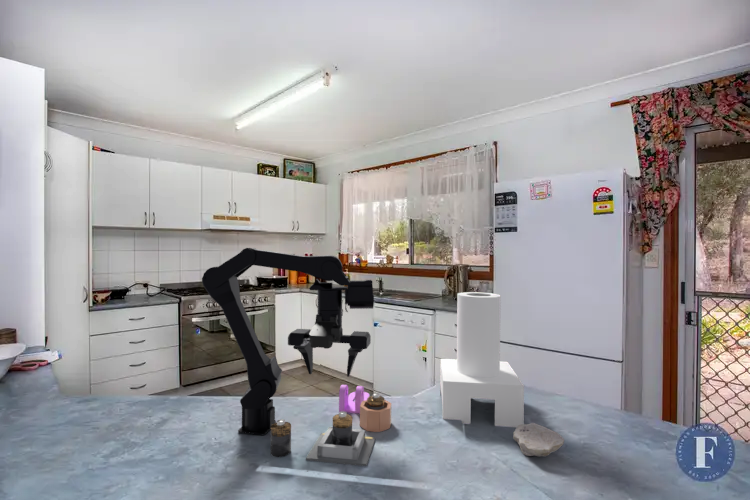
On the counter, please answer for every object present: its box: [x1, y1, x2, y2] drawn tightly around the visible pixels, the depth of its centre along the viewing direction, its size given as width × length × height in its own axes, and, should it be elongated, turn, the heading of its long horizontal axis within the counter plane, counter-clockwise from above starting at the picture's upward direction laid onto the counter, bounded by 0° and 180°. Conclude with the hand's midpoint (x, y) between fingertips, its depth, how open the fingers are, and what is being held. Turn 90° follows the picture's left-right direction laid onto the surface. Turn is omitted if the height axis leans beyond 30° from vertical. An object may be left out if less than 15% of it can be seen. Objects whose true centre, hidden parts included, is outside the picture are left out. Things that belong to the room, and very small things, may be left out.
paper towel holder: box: [439, 291, 525, 428], centre depth 100 cm, size 19×19×30 cm
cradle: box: [305, 426, 376, 467], centre depth 78 cm, size 12×10×3 cm
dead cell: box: [367, 392, 385, 410], centre depth 89 cm, size 4×4×7 cm
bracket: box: [338, 384, 370, 414], centre depth 101 cm, size 13×6×7 cm, turn 169°
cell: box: [332, 411, 353, 446], centre depth 78 cm, size 4×4×7 cm
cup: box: [359, 398, 392, 433], centre depth 89 cm, size 7×7×5 cm
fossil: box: [512, 422, 565, 458], centre depth 79 cm, size 9×6×10 cm
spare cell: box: [270, 418, 292, 458], centre depth 77 cm, size 4×4×7 cm
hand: (329, 375), depth 89 cm, fingers open, 9 cm apart
